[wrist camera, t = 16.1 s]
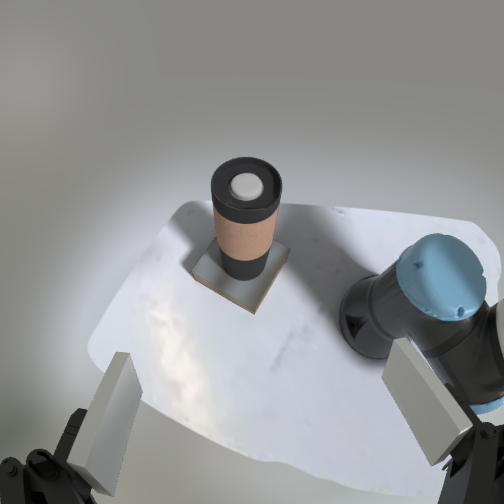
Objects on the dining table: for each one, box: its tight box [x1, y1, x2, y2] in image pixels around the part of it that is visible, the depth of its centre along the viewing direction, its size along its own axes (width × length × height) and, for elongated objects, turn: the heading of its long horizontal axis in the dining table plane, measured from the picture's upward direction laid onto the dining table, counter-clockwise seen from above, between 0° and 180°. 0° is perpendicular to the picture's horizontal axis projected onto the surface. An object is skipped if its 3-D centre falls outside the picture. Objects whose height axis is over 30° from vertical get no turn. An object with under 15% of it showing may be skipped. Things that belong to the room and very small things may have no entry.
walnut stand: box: [191, 236, 290, 314], centre depth 48 cm, size 12×12×4 cm
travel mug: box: [211, 157, 282, 281], centre depth 38 cm, size 8×8×20 cm
